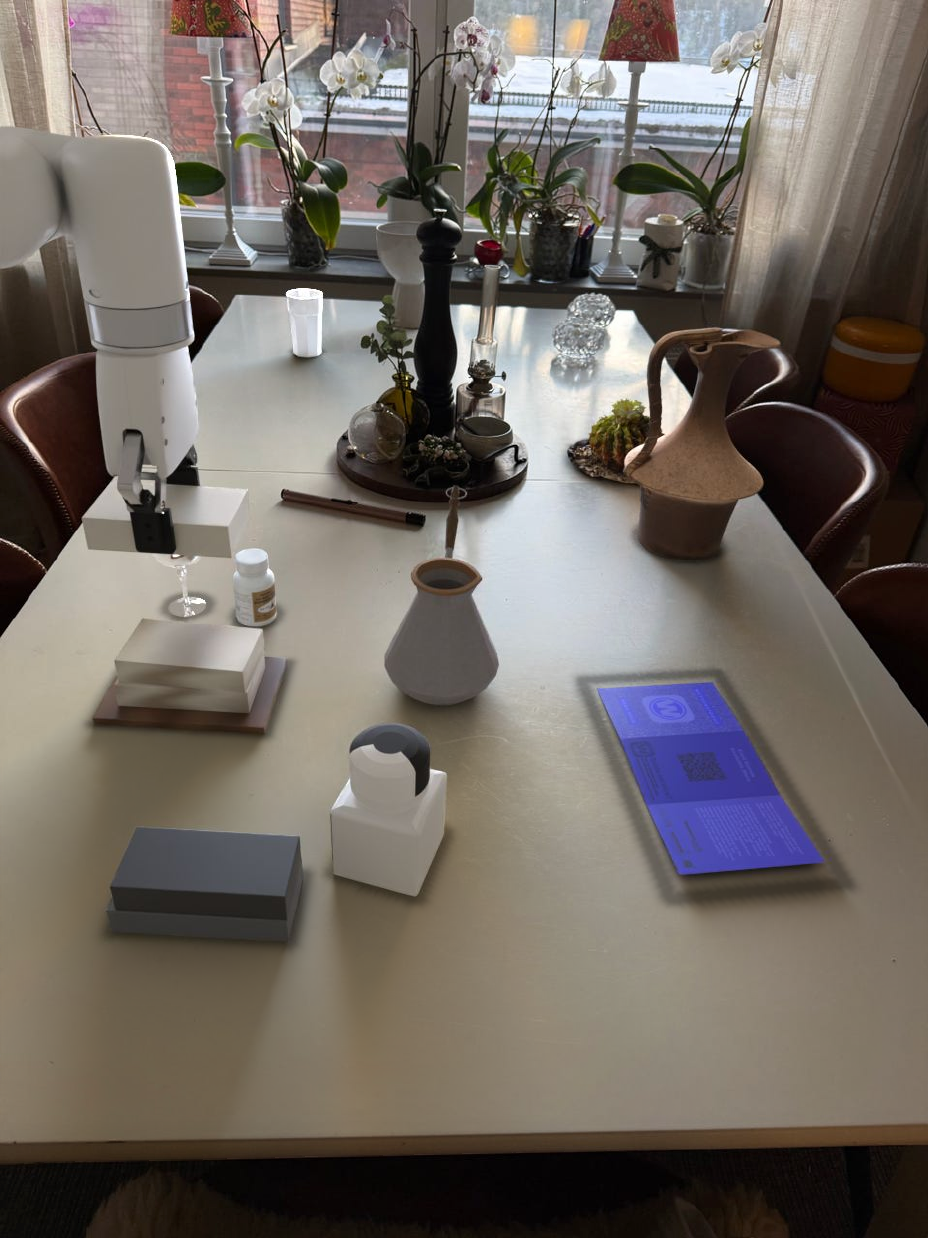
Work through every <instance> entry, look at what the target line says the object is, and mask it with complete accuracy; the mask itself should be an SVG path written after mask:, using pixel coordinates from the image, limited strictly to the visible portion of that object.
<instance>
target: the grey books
mask: <svg viewBox="0 0 928 1238" xmlns="http://www.w3.org/2000/svg"><path fill="white" fill-rule="evenodd" d="M303 871H304V870H303V858H302V849H301V837H300V835H290V834H289V835H288V834H276V833H275V834H273V833H257V832H240V831H239V832H238V831H225V830H224V831H223V830H222V831H220V830H205V829H189V828H186V829H185V828H172V827H171V828H169V827H154V826H151V827H150V826H135V828H134V830H133V833H132V834H131V838H130V839H129V842H128V843H127V847H126V848H125V851H124V853H123V855H122V858H121V860H120V862H119V864H118V867H117V869H116V871H115V873H114V876H113V879H112V881H111V882H110V885H109V889H110V894H111V899H110V901H109V903H108V906H107V908H106V915H107V919H108V923H109V927H110V930H111V932H112V933H127V934H144V935H161V936H163V935H164V936H178V937H179V936H182V937H197V938H214V939H215V938H216V939H232V940H248V941H264V942H265V941H266V942H281V943H282V942H283V943H284V942H285V943H289V942H290V939H291V934H292V931H293V925H294V920H295V917H296V911H297V907H298V903H299V898H300V894H301V890H302V885H303V881H304V872H303Z"/></svg>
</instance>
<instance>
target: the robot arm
mask: <svg viewBox="0 0 928 1238" xmlns="http://www.w3.org/2000/svg"><path fill="white" fill-rule="evenodd" d="M175 168H176V167H175V162H174V160H173V157H172V155H171V152H170V151H169V150H168V148H167V147H166V146H165V145H164V144H162V143H161V142H159V141H158V140H155V139H153V138H149V137H143V136H136V135H125V134H100V135H99V134H97V135H88V136H81V137H80V136H72V135H65V134H59V133H54V132H49V131H42V130H38V129H32V128H27V127H20V126H11V125H9V126H7V125H6V126H4V125H3V126H0V270H2V269H3V270H4V269H10V268H13V267H16V266H18V265H20V264H22V263H24V262H25V261H27V260H28V259H30V258H31V257H32V256H34V254H35V253H37V252H38V251H39V250H40V249H41V248H42V247H43V246H44V245H45V244H47V243H50V242H51V241H54V240H56V239H59V238H61V237H66V236H67V237H70V238H71V239H72V241H73V248H74V252H75V258H76V265H77V269H78V274H79V281H80V286H81V292H82V298H83V303H84V310H85V315H86V321H87V326H88V332H89V338H90V343H91V346H92V347H93V348H95V349H96V352H95V380H96V381H95V383H96V385H95V386H96V397H97V407H98V408H97V409H98V416H99V425H100V431H101V441H102V447H103V455H104V461H105V467H106V471H107V473H108V474H109V475H110V476H111V477H117V480H116V481H117V490H118V492H119V493H120V494H121V495H122V497H123V500H124V501H125V503H126V506H127V511H128V512H130V518H131V523H132V529H133V535H134V541H135V547H136V550H137V551H138V552H141V553H140V554H152V553H157V554H173V553H174V552H175V550H176V541H175V534H174V527H173V520H172V513H171V508H166V484H171V485H188V486H201V482H200V474H199V467H198V466H197V465H198V453H197V449H196V447H195V445H194V443H195V442H196V440H197V438H198V435H199V410H198V409H199V408H198V402H197V394H196V386H195V379H194V374H193V367H192V362H191V357H190V352H189V346H190V345H192V343H193V342H194V341H195V331H194V323H193V315H192V306H191V305H192V304H191V298H190V297H191V296H190V288H189V287H190V286H189V280H188V279H189V278H188V272H187V265H186V264H187V262H186V253H185V245H184V235H183V226H182V217H181V211H180V210H181V209H180V199H179V190H178V183H177V175H176V169H175ZM143 465H145V466H152V467H156V472H153V471H152V472H151V471H143ZM142 481H153V482H154V483H155V496H154V495H153V494H152V493H151V492H150V491H149V490H148V489H143V485H142V484H141V483H142Z"/></svg>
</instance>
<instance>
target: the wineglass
mask: <svg viewBox="0 0 928 1238" xmlns="http://www.w3.org/2000/svg"><path fill="white" fill-rule="evenodd" d="M151 554H152V556H153V557H154V559H155V560H156V561H157V562H158V563H159V564H161V565H163V566H164V567H167V568H171V569H177V573H176V574H177V577H178V578H179V581H180V583H181V589H182V597H180V598H178V599H176V600H173V601H172V602H171V603H170V604H169V605H168V612H169V613H170V614H172V615H174V616H176V617H183V618H186V617H193V616H196V615H198V614H200V613H202V612H203V611H204V610H205V609H206V607H207V604H206V602H205V600H203V599H201V598H199V597H195V596H189V594H188V587H187V577H188V570H187V568H188V567H191V566H193V565H195V564H196V563H198V562H199V561H200V560H201V559H202V556H186V555H170V554H153V553H151Z"/></svg>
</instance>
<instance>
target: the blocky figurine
mask: <svg viewBox="0 0 928 1238" xmlns="http://www.w3.org/2000/svg"><path fill="white" fill-rule="evenodd" d="M348 750H349V751H348V753H349V779H348V780H347V782H346V784H345V785H344V787H343V788H342V790H341V791H340V794H339V795H338V797H337V799H336V800H335V802H334V803H333V805H332V807H331V809H330V812H329V818H330V839H331V840H330V841H331V859H332V873H333V875H335V876H338V877H341V878H344V879H348V880H352V881H355V882H359V883H363V884H368V885H369V886H373V887H377V888H381V889H385V890H388V891H392V892H396V893H399V894H403V895H407V896H411V897H417V896H418V895H419V893H420V891H421V889H422V886H423V884H424V882H425V879H426V877H427V875H428V873H429V870H430V868H431V865H432V863H433V861H434V858H435V857H436V854H437V852H438V849H439V847H440V845H441V842H442V840H443V838H444V836H445V823H446V822H445V821H446V802H447V801H446V799H447V784H448V783H447V782H448V781H447V779H448V776H447V773H446V772H444V771H442V770H438V769H437V770H436V769H432V768H431V757H432V756H431V753H432V751H431V750H432V749H431V745H430V743H429V740H428V739H427V738H426V737H425V735H424V734H422V733H421V732H420V731H419V730H417V729H415V727H412V726H409V725H407V724H403V723H398V722H384V723H378V724H374V725H371V726H369V727H367V728H365V729H363V730H362V731H361V732H359V734H357V735H356V736H355V737H354V739H353V740H352V742H351V743H350V746H349V749H348Z"/></svg>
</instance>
